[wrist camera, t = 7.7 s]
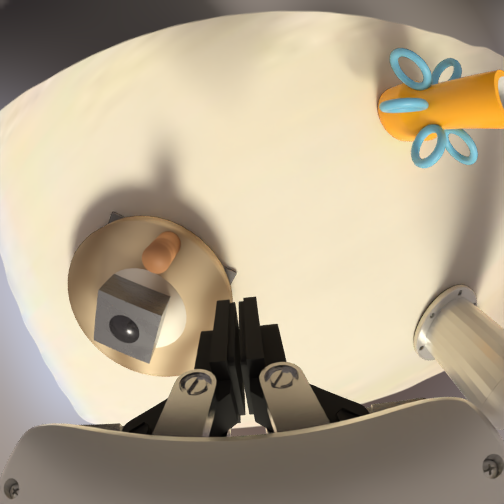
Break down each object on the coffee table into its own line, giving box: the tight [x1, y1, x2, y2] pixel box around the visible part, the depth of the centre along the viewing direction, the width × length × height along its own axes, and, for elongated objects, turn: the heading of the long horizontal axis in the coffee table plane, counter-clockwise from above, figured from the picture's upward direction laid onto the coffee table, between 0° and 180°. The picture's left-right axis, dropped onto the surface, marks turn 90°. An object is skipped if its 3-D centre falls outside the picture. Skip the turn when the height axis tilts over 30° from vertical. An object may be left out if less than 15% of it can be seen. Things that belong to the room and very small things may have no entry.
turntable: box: [68, 216, 232, 377], centre depth 24 cm, size 18×18×6 cm
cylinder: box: [378, 48, 504, 168], centre depth 15 cm, size 12×10×15 cm
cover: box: [94, 274, 171, 364], centre depth 23 cm, size 6×6×4 cm
